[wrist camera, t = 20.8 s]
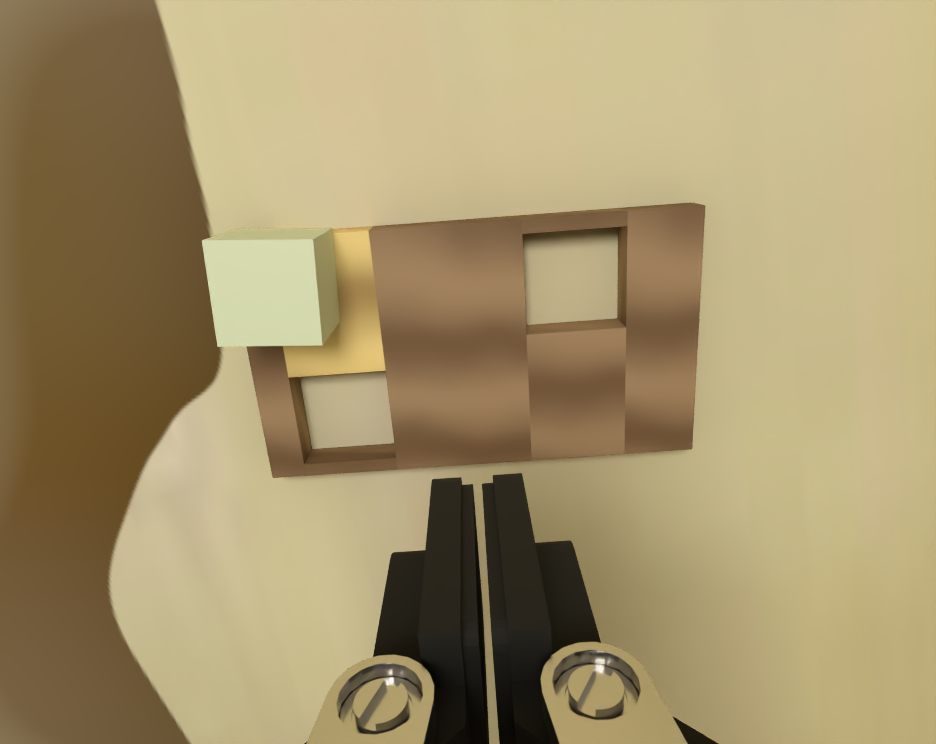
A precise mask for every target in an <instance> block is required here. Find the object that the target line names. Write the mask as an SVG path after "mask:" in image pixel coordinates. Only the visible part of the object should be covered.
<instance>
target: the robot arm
mask: <svg viewBox="0 0 936 744" xmlns="http://www.w3.org/2000/svg"><path fill="white" fill-rule="evenodd" d="M482 489H483V505H484V521H485V537H486V553H487V569H488V585H489V601H490V617H491V632H492V646H493V660H494V673H495V687H496V701H497V714H498V728H499V741H500V744H718V743H716V742H715V741H713V740H711V739H710V738H708V737H706V736H705V735H703V734H701V733H700V732H698V731H696V730H695V729H693V728H691V727H690V726H688V725H686V724H685V723H683V722H681V721H680V720H678V719H676V718H675V717H673V716H672V715H671V713H670V711H669V709H668V708H667V706H666V704H665V702H664V701H663V699H662V697H661V695H660V693H659V692H658V690H657V688H656V686H655V684H654V683H653V681H652V679H651V677H650V675H649V674H648V672H647V671H646V670H645V668H644V667H643V666H642V664H641V663H640V662H639V661H638V660H637V659H636V658H634V657H633V656H632V655H630V654H629V653H628V652H626V651H624V650H622V649H620V648H617V647H615V646H612V645H610V644H604V643H601V641H600V638H599V634H598V631H597V627H596V624H595V620H594V617H593V613H592V610H591V606H590V603H589V599H588V596H587V592H586V589H585V585H584V582H583V578H582V575H581V571H580V568H579V564H578V561H577V557H576V554H575V550H574V547H573V544H572V542H571V541H558V542H543V543H535V540H534V535H533V529H532V524H531V519H530V513H529V508H528V503H527V498H526V492H525V487H524V482H523V477H522V473H518V474H504V475H493V483H485V484H482ZM305 744H489V728H488V707H487V685H486V664H485V643H484V622H483V606H482V593H481V580H480V567H479V555H478V542H477V529H476V516H475V504H474V491H473V484H470V485H462V480H461V477H460V478H445V479H432V485H431V496H430V507H429V518H428V529H427V540H426V550H424V551H409V552H394V553H392V555H391V559H390V564H389V570H388V575H387V581H386V587H385V592H384V598H383V604H382V609H381V615H380V621H379V626H378V632H377V638H376V643H375V649H374V655H373V657H372V658H369V659H366V660H362V661H361V662H359V663H357V664H355V665H354V666H352V667H350V668H348V669H347V670H346V671H345V672H344V673H343V674H342V675H341V676H340V677H339V678H337V679H336V681H335V682H334V684H333V686H332V687H331V689H330V690H329V692H328V694H327V696H326V699H325V701H324V703H323V706H322V708H321V710H320V713H319V715H318V717H317V720H316V722H315V724H314V727H313V729H312V732H311V734H310V736H309V739H308V741H307V742H306V743H305Z"/></svg>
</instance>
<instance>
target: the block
mask: <svg viewBox="0 0 936 744" xmlns="http://www.w3.org/2000/svg"><path fill="white" fill-rule="evenodd" d="M202 244H203V250H204V257H205V265H206V271H207V278H208V285H209V291H210V298H211V305H212V312H213V319H214V325H215V332H216V339H217V345H218V347H220V346H317V345H323V344H324V343H325V341H326V340H327V339H328V337H329V336H330V334H331V333H332V332H333V330H334V329H335V328H336V326H337V325H338V323H339V322H340V316H339V303H338V291H337V278H336V265H335V252H334V240H333V228H298V229H235V230H232V231H229V232H226V233H223V234H220V235H217V236H214V237H211V238H208V239H205V240H202Z"/></svg>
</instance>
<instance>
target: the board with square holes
mask: <svg viewBox="0 0 936 744" xmlns="http://www.w3.org/2000/svg"><path fill="white" fill-rule="evenodd" d="M704 219H705V205H700V204H696V203H681V204H667V205H654V206H640V207H627V208H614V209H600V210H587V211H573V212H560V213H546V214H533V215H520V216H506V217H493V218H479V219H466V220H453V221H439V222H426V223H412V224H399V225H385V226H372V227H359V228H345V229H333V240H334V252H335V265H336V278H337V291H338V303H339V316H340V322H339V323H338V325H337V326H336V328H335V329H334V330H333V332H332V333H331V334H330V336H329V337H328V339H327V340H326V341H325V343H324V344H323V345H317V346H247V351H248V356H249V361H250V366H251V371H252V376H253V381H254V386H255V391H256V396H257V401H258V406H259V411H260V416H261V421H262V426H263V431H264V436H265V441H266V446H267V451H268V456H269V461H270V466H271V471H272V476H273V478H279V477H294V476H308V475H323V474H337V473H352V472H366V471H381V470H395V469H410V468H425V467H439V466H454V465H468V464H483V463H497V462H512V461H526V460H541V459H555V458H570V457H585V456H599V455H614V454H628V453H643V452H657V451H672V450H686V449H692V441H693V423H694V404H695V386H696V367H697V349H698V330H699V312H700V293H701V275H702V256H703V238H704ZM608 227H618V319H605V320H591V321H577V322H564V323H550V324H536V325H526V310H525V286H524V262H523V238H522V234H527V233H540V232H554V231H567V230H581V229H594V228H608ZM373 371H386V378H387V386H388V394H389V402H390V411H391V419H392V427H393V435H394V443H395V444H381V445H367V446H352V447H338V448H323V449H312V448H311V442H310V436H309V431H308V425H307V419H306V413H305V407H304V402H303V396H302V390H301V384H300V378H299V377H303V376H317V375H331V374H345V373H359V372H373Z"/></svg>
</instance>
